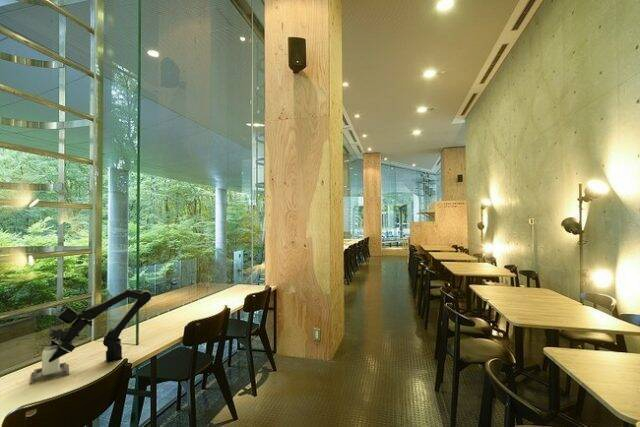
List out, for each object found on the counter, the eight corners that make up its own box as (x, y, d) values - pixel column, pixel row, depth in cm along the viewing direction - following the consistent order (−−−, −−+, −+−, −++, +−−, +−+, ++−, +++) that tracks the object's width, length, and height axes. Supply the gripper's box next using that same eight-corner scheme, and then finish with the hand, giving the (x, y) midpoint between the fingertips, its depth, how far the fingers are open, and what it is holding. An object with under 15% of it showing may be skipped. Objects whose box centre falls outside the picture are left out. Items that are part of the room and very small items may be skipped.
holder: (68, 364, 164) (68, 361, 164) (69, 374, 153) (69, 370, 153) (31, 373, 155) (31, 369, 155) (29, 384, 144) (29, 380, 144)
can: (58, 368, 159) (58, 344, 159) (60, 372, 154) (61, 347, 155) (40, 373, 154) (40, 348, 154) (43, 377, 149) (43, 351, 150)
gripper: (55, 317, 163) (26, 346, 155) (66, 324, 152) (35, 356, 143) (74, 329, 169) (47, 357, 161) (86, 336, 158) (57, 367, 149)
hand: (46, 359), depth 153 cm, fingers open, 9 cm apart
